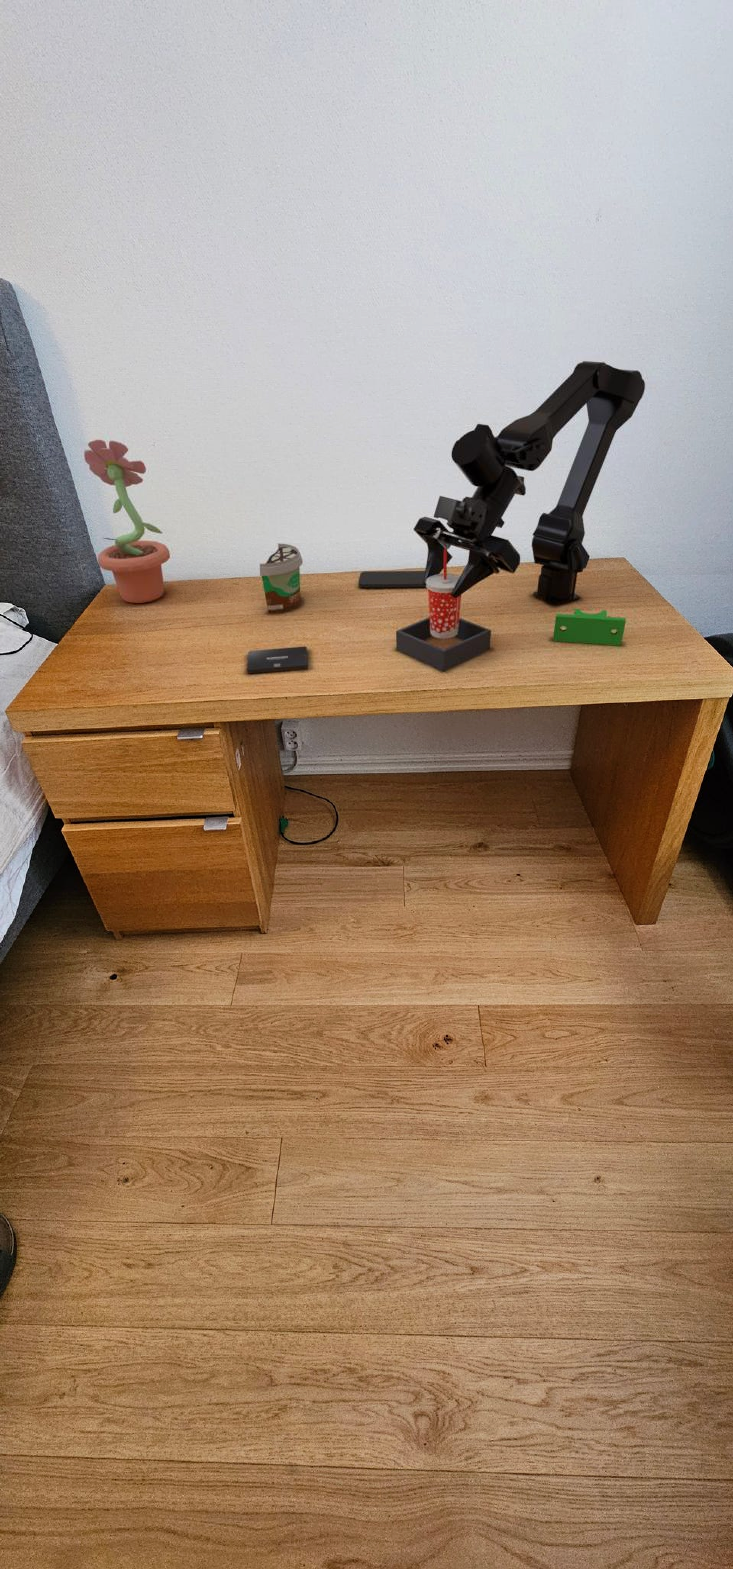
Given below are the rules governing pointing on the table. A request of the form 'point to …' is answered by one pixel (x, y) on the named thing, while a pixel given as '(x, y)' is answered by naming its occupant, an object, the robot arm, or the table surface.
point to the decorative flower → (130, 557)
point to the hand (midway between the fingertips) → (438, 591)
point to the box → (414, 646)
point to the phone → (391, 579)
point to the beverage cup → (443, 603)
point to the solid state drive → (277, 659)
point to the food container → (282, 579)
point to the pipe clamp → (589, 628)
